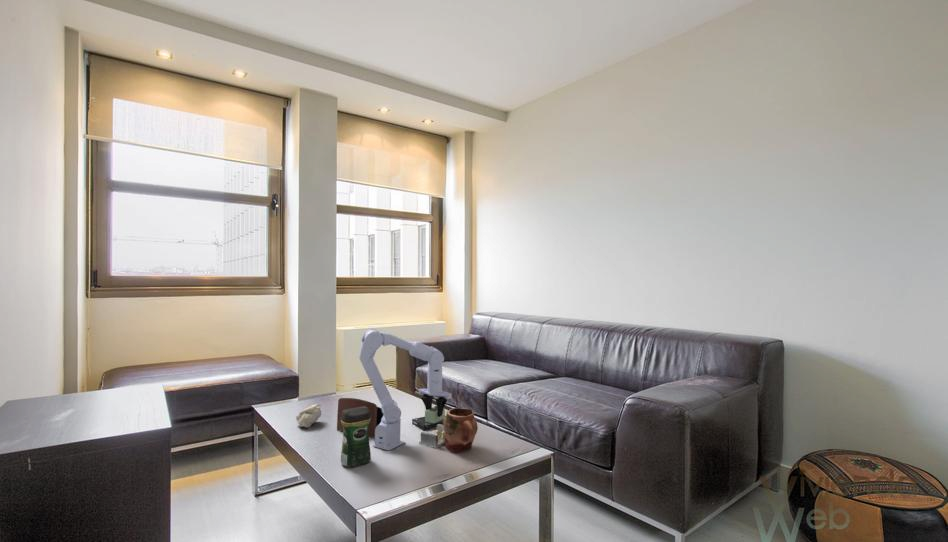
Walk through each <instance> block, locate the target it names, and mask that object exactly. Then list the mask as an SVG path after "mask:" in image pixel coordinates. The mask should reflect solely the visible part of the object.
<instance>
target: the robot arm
mask: <svg viewBox="0 0 948 542" xmlns="http://www.w3.org/2000/svg"><path fill="white" fill-rule="evenodd" d="M360 343H361V344H360V350H359V354H358V358H359V361H360V364H362V367H363V370H364V371H365V374H366V375H367V377H368V380H369V382H370V383H371V385H372V387H373V388H372V389H373V390H374V392H375V394H376V396H377V398H378V400H379V403H380V405H381V407H380V408H381V410H382V413H383V414H384V416H383V417H382V419H381V423H380V424H379V425H378V426H377V427H376V429H375V438H374V444H373V445H372V447H375V448H378V449H383V450H386V451H391V450H393V449H395V448H397V447H399V446H401V445H402V444H405V443H406V441H405V440H403V439H401V420H402V419H401V416H402V411H401V408H400V407H399V405H398V403H397V402H396V400H394V399H393V398H392V396H391V394H390V390H389V389H388V387H387V384H386V383H385V381H384V378H383V377H382V374H381V373H380V370H379V368H378V366H377V364H376V362H375V359H374V357H375V355H376V352H377V350H379V349H380V347H381V346H383V347H385V346H390V345H391V346H394V347H397V348H399V349H402V350H405V351H408V352H409V355H410V356H411V357H414V358H416V359H419V360H422V361H424V362H427V381H426V383H427V384H426V385H427V387H426V388H419V389H418V393H417V394H418V395H422V396H421V398H420V399H421V400H422V403H423V404H424V408H425V411H426V410H428V409H430V408H433V399H434V397H436V399H435V402H436V406H437V415H438V417H440V416H442V413H443V409H444V408H445V406H446V404H447V402H448V400H451V399H453V398H452V395H453V394H452V393H451V392H447V391H445V390H443V363H444V361H445V357H444V354H443V352H442V351H440V350H438V349H437V348H436V347H434V346H432V345H431V346H429V345H426V344H424V342H422V341H420V340H419V341H414V342H410V341H408V340H405V339H403V338H401V337H398V336H397V335H394V334H392V333H389V332H386V331H382V330H377V329H374V328H370V329H368V330H366V331H365V333H364V334H363V336H362V338H361V342H360Z"/></svg>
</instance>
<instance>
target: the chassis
mask: <svg viewBox="0 0 948 542" xmlns="http://www.w3.org/2000/svg"><path fill="white" fill-rule="evenodd" d="M445 435H446V433H445V431H444V426H443V425H441V424H438V425H437V428H436V430H435V433H429V432H426V431H420V441H418V444H419V445H421V446H426V447H431V448H433V447H434V449H437V448H439V447H440V445H441V446H443V445H445V444H444V443H445ZM442 444H443V445H442Z"/></svg>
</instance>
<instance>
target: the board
mask: <svg viewBox="0 0 948 542" xmlns="http://www.w3.org/2000/svg"><path fill="white" fill-rule="evenodd" d="M445 410H446V409H445V407H444V409H443V413H442V416H440V417H438V415H437V405H434V406H432V408H430V409H428V410H426V409H425V410H424V417H425V421H426V422H431V423H436V422H438V421H440V420H442V419H444V418H445V416H446V414H445V413H446V411H445Z"/></svg>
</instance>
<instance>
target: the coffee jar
mask: <svg viewBox="0 0 948 542" xmlns="http://www.w3.org/2000/svg"><path fill="white" fill-rule="evenodd" d="M370 420H371V417H370V410H369V409H368V408H367V407H365V406H362V407H357V408H352V409H346V410H343V411H342V417H341V423H342V426H343V431H342V441H341V442H342V443H341V450H340V453H341V455H340V463H341V465H342V466H343V467H346V468H355V467H358V466H362V465H366V464H368V463H370V462H371V460H372V459H371V458H372V456H371V455H372V453H371V446H370V445H371V444H370V437H369V423H370Z"/></svg>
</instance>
